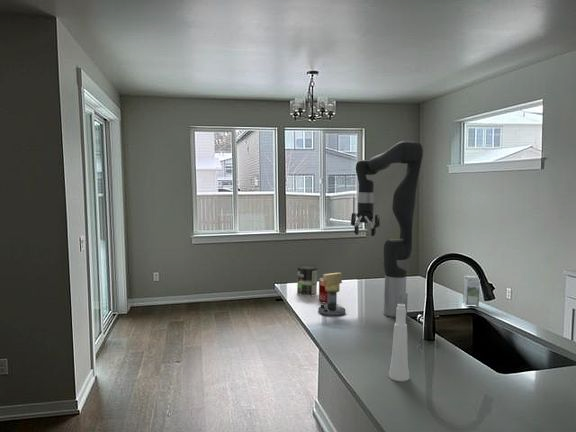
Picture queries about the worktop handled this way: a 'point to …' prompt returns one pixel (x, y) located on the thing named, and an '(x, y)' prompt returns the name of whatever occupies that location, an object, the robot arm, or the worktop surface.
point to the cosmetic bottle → (399, 347)
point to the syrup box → (471, 290)
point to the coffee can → (307, 280)
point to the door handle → (332, 282)
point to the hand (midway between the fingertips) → (364, 235)
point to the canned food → (322, 293)
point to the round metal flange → (331, 306)
